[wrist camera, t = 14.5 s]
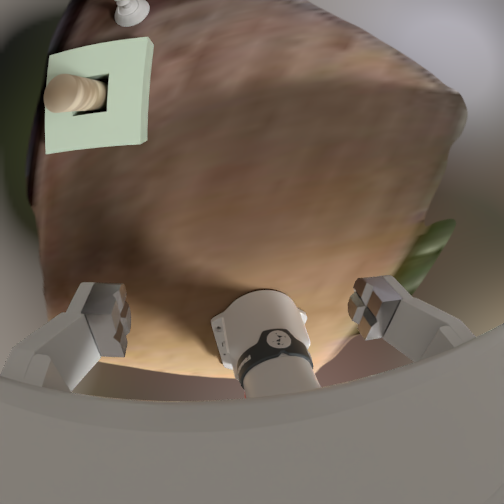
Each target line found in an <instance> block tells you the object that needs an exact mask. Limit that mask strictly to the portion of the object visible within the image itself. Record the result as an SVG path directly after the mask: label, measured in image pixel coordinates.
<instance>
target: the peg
mask: <svg viewBox="0 0 504 504" xmlns="http://www.w3.org/2000/svg"><path fill="white" fill-rule="evenodd" d="M107 95H108V83H105V82H101V81H97V80H93V79H89V78H84V77H80V76H75V75H70V74H60V75H57V76H56V77H54V78H53V79H52V80H51V81H50V82H49V83H48V85H47V87H46V89H45V92H44V104H45V106H46V108H47V109H48V110H49V111H50V112H53V113H60V112H72V111H88V110H103V109H106V108H107Z"/></svg>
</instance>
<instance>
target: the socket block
mask: <svg viewBox="0 0 504 504" xmlns="http://www.w3.org/2000/svg"><path fill="white" fill-rule="evenodd" d="M153 48H154V44H153V43H152V42H151V40H150V39H149V37H141V38H132V39H124V40H117V41H110V42H104V43H99V44H94V45H89V46H84V47H80V48H76V49H72V50H68V51H64V52H60V53H57V54H53V55H50V56H49V64H48V73H47V83H46V87H47V85H48V83H49V82H50V81H51V80H52V79H53V78H54V77H56V76H57V75H60V74H70V75H75V76H80V77H84V78H89V79H93V80H102V79H109V81H108V95H107V112H99V113H91V114H85V111H72V112H60V113H53V112H50V111H49V110H48V109H47V108H46V106H45V148H46V154H51V153H57V152H64V151H71V150H79V149H87V148H97V147H107V146H119V145H135V144H142V143H143V142H145V141H147V124H148V102H149V88H150V76H151V65H152V56H153Z"/></svg>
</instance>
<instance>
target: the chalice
mask: <svg viewBox="0 0 504 504" xmlns="http://www.w3.org/2000/svg"><path fill="white" fill-rule="evenodd" d="M115 1H117V5H118V7H117V9H116V12H115V21H116V22H117V24H118V25H121V26H125V27H128V26H133V25H136V24H138V23H140V22H141V21H142V20H144V18H145V17H146V16H147V14H148V12H149V4H148V3H147V2H146V1H145V0H115Z"/></svg>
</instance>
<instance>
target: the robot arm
mask: <svg viewBox="0 0 504 504" xmlns="http://www.w3.org/2000/svg"><path fill="white" fill-rule="evenodd" d="M353 288H354V291H355V292H354V293H353V294H352V295H351V296H350V299H349V302H348V313H349V316H350V318H351V319H352V321H354V322H356V323H357V324H358V328H357V329H358V330H359V332H360V333H361V335H362V336H363V338H364V339H365V340H371V339H377V338H382V337H383V339H384V340H386V341H387V342H388V343H390V344H391V345H392V346H394V347H395V348H397V349H398V350H399V351H401V352H402V353H403V354H405V355H406V356H407V357H408V358H410V359H411V360H413V361H414V363H411V364H409V365H405V366H402V367H399V368H396V369H393V370H389V371H386V372H383V373H379V374H376V375H372V376H369V377H365V378H361V379H357V380H353V381H349V382H344V383H340V384H336V385H331V386H326V387H321V386H320V385H319V383H318V381H317V378H316V376H315V374H314V372H313V363H312V358H311V355H310V353H309V352H308V350H307V349H308V347H309V345H310V339H309V336H308V333H307V330H306V328H305V325H304V324H305V322H306V320H307V315H306V313H305V312H304V311H302V310H300V309H298V308H297V307H296V305H295V304H294V302H293V301H292V299H291V298H290V297H288V296H287V295H285V294H283V293H281V292H278V291H273V290H260V291H255V292H251V293H248V294H246V295H243V296H241V297H240V298H238V299H237V300H235V301H234V302H233V303H232V304H231V305H230V306H229V307H228V308H227V309H226V310H225V311H224V312H223V313H220V314H218V315H217V316H215V317H213V318H212V319H211V325H212V329H213V332H214V336H215V339H216V343H217V346H218V350H219V353H220V356H221V359H222V363H223V366H224V367H225V368H228V369H232V370H233V371H234V375H235V378H236V379H238V380H239V382H240V383H241V386H242V388H243V389H244V391H245V398H244V399H231V400H216V401H145V400H129V399H117V398H107V397H98V396H90V395H83V394H76V393H72V392H71V391H72V390H73V389H74V388H75V387H76V385H77V384H78V383H79V382H80V381H81V379H83V377H84V376H85V375H86V374H87V373H88V372H89V370H90V369H91V368H92V367H93V366H94V365H95V364H96V363H97V361H98V360H99V359H100V358H101V356H106V357H125V353H126V348H127V343H128V342H127V338H126V335H127V334H128V333H129V332H130V327H131V312H130V307H129V304H128V303H127V302H126V301H125V299H126V296H127V293H126V288H125V285H124V284H123V283H98V282H96V283H95V282H83V283H81V284H80V285H79V287H78V289H77V291H76V293H75V295H74V297H73V299H72V301H71V303H70V305H69V307H68V309H67V311H66V313H64V312H62V313H60V314H59V315H57V316H56V317H54V318H53V319H52V320H50V321H49V322H47V323H46V324H44V325H43V326H42V327H41V328H39V329H37V330H36V331H35V332H33V333H32V334H30V335H29V336H28V337H26V338H25V339H24V340H22V341H21V342H20V343H18V344H17V345H15V346H14V347H13V348H12V350H11V352H10V354H9V356H8V358H7V361H6V363H5V365H4V367H3V370H2V372H1V374H0V504H504V323H503V324H501V325H499V326H498V327H496V328H494V329H492V330H490V331H488V332H486V333H484V334H482V335H480V336H478V337H475V336H474V334H472V332H471V331H470V330H469V329H468V328H467V327H466V326H465V324H464V323H463V322H462V321H461V320H460V319H458V318H456V317H454V316H451V315H450V314H448V313H446V312H444V311H442V310H440V309H438V308H436V307H434V306H432V305H430V304H428V303H426V302H424V301H421V300H419V299H417V298H413V297H412V296H411V295H410V294H409V293H408V292H407V291H406V290H405V289H404V288H403V287H402V286H401V285H400V283H399V282H398V281H397V280H396V279H395V278H394V277H393V276H390V275H385V276H378V277H366V278H358V279H357V280H356V281H355V284H354V287H353Z"/></svg>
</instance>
